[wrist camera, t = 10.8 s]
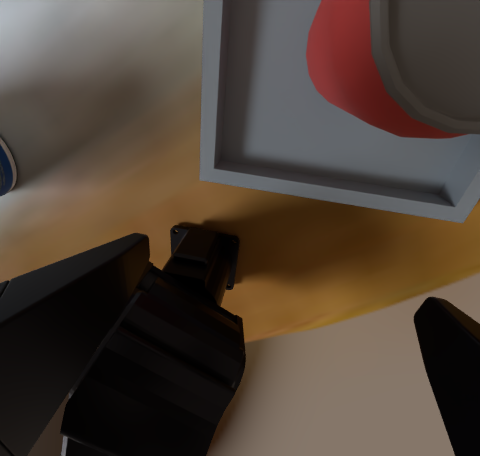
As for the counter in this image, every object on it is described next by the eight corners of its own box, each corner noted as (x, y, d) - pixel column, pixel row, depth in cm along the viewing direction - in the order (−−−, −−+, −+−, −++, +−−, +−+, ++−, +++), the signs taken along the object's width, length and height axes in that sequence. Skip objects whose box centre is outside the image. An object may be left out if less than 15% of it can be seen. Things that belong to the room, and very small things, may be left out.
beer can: (445, -52, 12) (1337, -789, 2) (416, 100, 15) (679, 142, 5) (304, -19, 13) (361, -330, 3) (305, 114, 17) (335, 171, 6)
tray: (441, 205, 19) (462, 223, 16) (209, 168, 20) (199, 180, 18) (697, -224, 9) (831, -323, 7) (227, -236, 11) (210, -321, 8)
